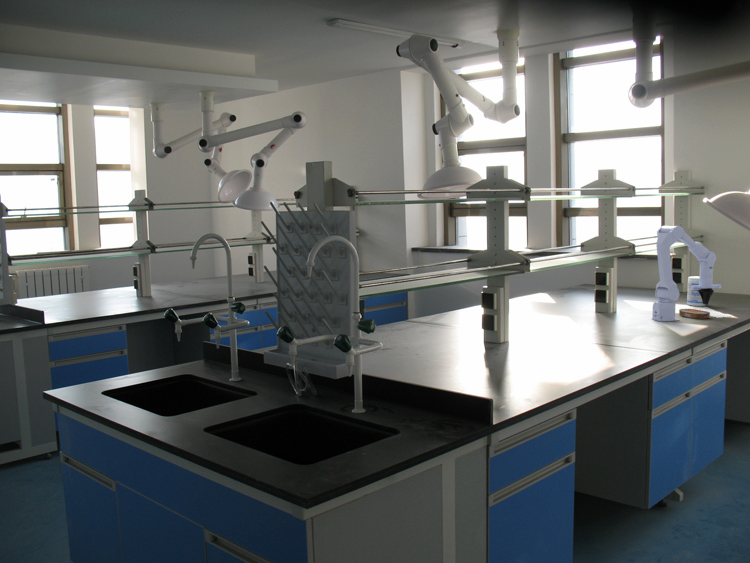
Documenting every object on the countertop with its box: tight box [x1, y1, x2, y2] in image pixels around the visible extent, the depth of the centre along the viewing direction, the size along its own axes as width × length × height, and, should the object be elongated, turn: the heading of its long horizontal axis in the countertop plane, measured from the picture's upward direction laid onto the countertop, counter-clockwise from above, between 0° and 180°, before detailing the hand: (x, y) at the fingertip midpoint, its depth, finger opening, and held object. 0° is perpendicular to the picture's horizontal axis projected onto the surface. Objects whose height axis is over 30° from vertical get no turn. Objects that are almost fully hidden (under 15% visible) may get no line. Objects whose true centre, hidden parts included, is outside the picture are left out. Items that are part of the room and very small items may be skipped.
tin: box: [678, 308, 711, 320], centre depth 321 cm, size 15×3×8 cm
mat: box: [708, 310, 731, 319], centre depth 324 cm, size 7×15×1 cm, turn 7°
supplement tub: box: [686, 275, 706, 307], centre depth 351 cm, size 10×10×15 cm
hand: (705, 304), depth 322 cm, fingers closed
